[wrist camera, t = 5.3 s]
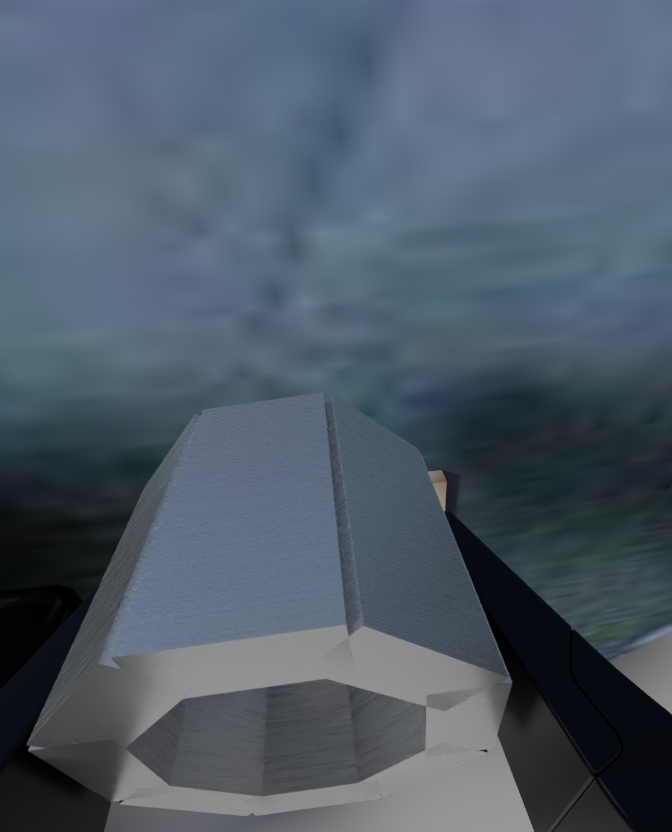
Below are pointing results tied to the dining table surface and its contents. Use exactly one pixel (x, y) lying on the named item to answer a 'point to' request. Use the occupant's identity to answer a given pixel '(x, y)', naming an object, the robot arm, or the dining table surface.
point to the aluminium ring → (278, 626)
